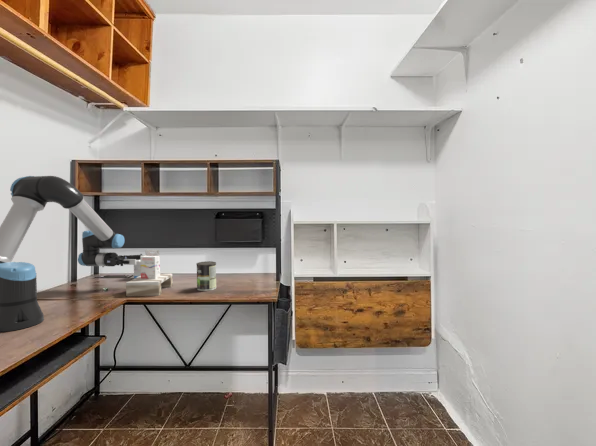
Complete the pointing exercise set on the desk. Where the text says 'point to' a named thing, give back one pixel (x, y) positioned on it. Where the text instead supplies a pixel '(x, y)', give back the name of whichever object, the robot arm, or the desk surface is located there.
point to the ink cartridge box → (150, 265)
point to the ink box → (137, 269)
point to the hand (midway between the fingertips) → (144, 259)
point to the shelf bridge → (148, 285)
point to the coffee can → (206, 276)
